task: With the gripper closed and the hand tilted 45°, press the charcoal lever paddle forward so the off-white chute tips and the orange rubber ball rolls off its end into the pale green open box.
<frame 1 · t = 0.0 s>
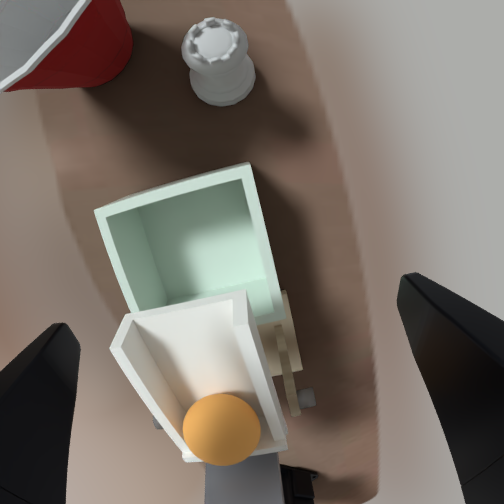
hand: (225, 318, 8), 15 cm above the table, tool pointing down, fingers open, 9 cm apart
pale green open box: (202, 237, 23), on the table
stand: (234, 340, 26), on the table
ball: (221, 430, 14), point 11 cm above the table, tilted 14°, touching chute
chute: (215, 434, 13), point 12 cm above the table, hinge at -6.0°, touching ball
rook chess piece: (223, 78, 20), on the table
plastic cup: (100, 51, 18), on the table
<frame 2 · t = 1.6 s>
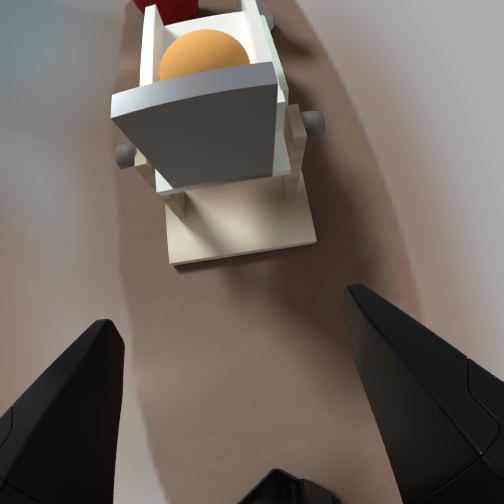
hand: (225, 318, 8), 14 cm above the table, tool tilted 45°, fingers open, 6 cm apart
pale green open box: (222, 104, 25), on the table
stand: (235, 199, 23), on the table
ball: (204, 71, 12), point 11 cm above the table, tilted 14°, touching chute
chute: (199, 44, 11), point 12 cm above the table, hinge at -6.0°, touching ball
rook chess piece: (253, 29, 27), on the table
plastic cup: (174, 17, 29), on the table
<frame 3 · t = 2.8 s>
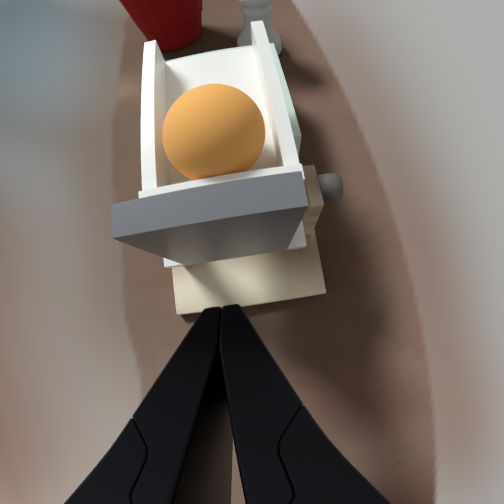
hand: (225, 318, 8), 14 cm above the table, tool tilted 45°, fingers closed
pale green open box: (228, 139, 24), on the table
stand: (243, 247, 22), on the table
ball: (213, 133, 12), point 11 cm above the table, tilted 14°, touching chute
chute: (207, 101, 11), point 12 cm above the table, hinge at -6.0°, touching ball
rook chess piece: (259, 52, 27), on the table
plastic cup: (176, 36, 28), on the table
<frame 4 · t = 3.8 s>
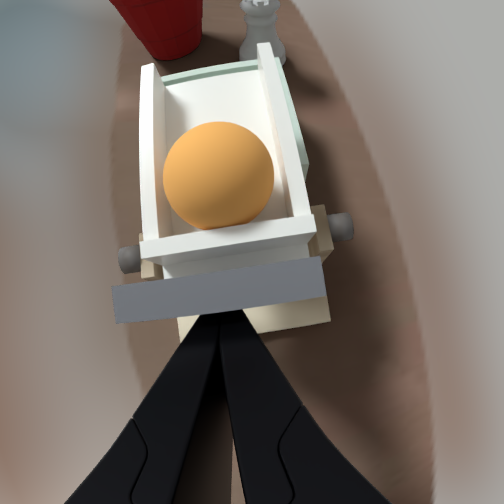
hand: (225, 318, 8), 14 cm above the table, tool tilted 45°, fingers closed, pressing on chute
pale green open box: (230, 158, 24), on the table
stand: (246, 273, 22), on the table
ball: (218, 176, 11), point 11 cm above the table, tilted 13°, touching chute
chute: (211, 142, 10), point 12 cm above the table, hinge at -4.9°, touching ball, gripper
rook chess piece: (262, 62, 26), on the table
plastic cup: (176, 44, 28), on the table
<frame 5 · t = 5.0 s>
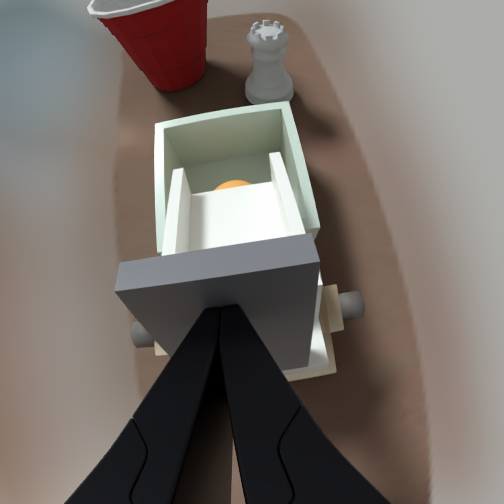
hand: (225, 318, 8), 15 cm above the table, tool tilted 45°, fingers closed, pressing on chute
pale green open box: (238, 205, 24), on the table
stand: (255, 326, 22), on the table
chute: (227, 215, 13), point 10 cm above the table, hinge at 25.7°, touching gripper
rook chess piece: (269, 96, 27), on the table
plastic cup: (179, 73, 28), on the table
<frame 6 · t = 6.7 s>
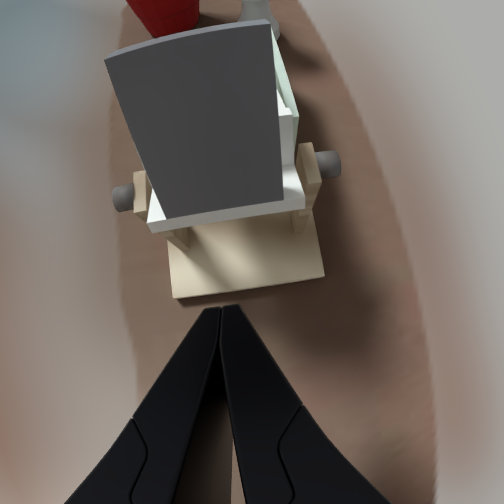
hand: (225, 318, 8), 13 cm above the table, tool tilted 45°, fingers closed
pale green open box: (225, 123, 24), on the table
stand: (240, 230, 22), on the table
chute: (208, 80, 13), point 10 cm above the table, hinge at 25.4°
rook chess piece: (257, 38, 26), on the table
plastic cup: (174, 23, 27), on the table
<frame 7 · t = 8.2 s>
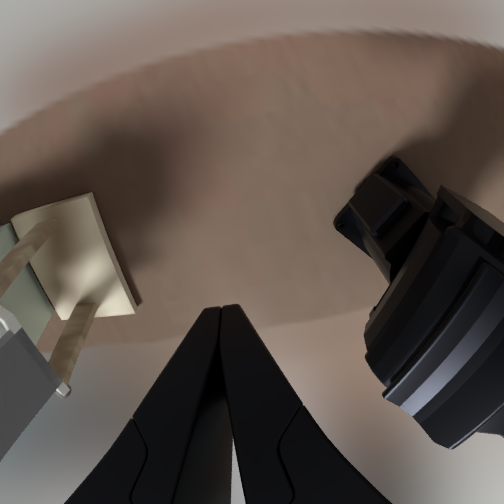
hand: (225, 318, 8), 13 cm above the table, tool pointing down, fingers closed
pale green open box: (0, 275, 22), on the table
stand: (71, 262, 21), on the table
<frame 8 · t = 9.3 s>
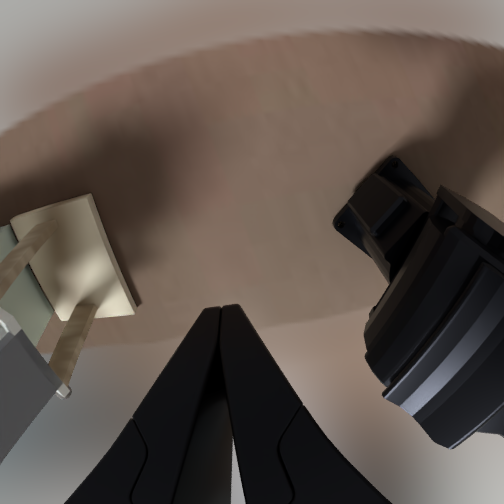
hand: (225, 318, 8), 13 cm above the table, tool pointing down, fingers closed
pale green open box: (0, 276, 22), on the table
stand: (70, 263, 21), on the table
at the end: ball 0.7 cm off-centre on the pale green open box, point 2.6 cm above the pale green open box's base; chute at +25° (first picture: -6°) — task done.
